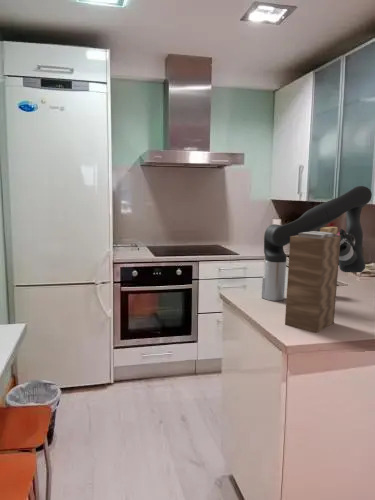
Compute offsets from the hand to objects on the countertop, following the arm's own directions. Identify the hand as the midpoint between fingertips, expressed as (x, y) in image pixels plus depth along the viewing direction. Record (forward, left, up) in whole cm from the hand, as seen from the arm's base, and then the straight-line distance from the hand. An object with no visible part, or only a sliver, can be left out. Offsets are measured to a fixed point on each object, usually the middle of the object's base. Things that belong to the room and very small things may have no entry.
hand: (329, 230), depth 149 cm
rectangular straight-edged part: (-1, -5, -2) cm, 6 cm away
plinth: (-2, -12, -34) cm, 36 cm away
